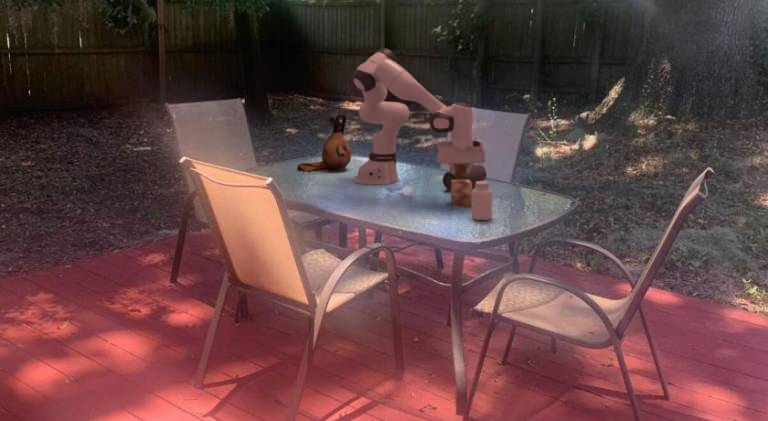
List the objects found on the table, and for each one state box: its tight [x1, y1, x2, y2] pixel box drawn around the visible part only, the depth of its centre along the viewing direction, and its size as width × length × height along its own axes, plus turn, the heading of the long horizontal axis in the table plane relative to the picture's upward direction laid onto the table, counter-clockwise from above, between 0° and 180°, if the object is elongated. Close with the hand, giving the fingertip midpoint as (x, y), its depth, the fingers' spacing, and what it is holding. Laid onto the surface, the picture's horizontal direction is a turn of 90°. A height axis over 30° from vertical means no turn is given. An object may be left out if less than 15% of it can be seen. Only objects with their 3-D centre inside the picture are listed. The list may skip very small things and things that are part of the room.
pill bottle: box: [471, 180, 493, 221], centre depth 272 cm, size 8×8×15 cm
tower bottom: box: [450, 191, 472, 207], centre depth 295 cm, size 8×8×5 cm
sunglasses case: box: [296, 160, 328, 173], centre depth 364 cm, size 18×7×7 cm, turn 128°
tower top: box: [450, 180, 473, 196], centre depth 293 cm, size 8×8×5 cm
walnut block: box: [455, 165, 467, 179], centre depth 291 cm, size 4×4×5 cm
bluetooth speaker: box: [442, 164, 487, 191], centre depth 322 cm, size 23×9×10 cm, turn 134°
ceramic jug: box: [321, 113, 352, 173], centre depth 358 cm, size 17×15×30 cm
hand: (460, 173), depth 291 cm, fingers closed on walnut block, 4 cm apart
